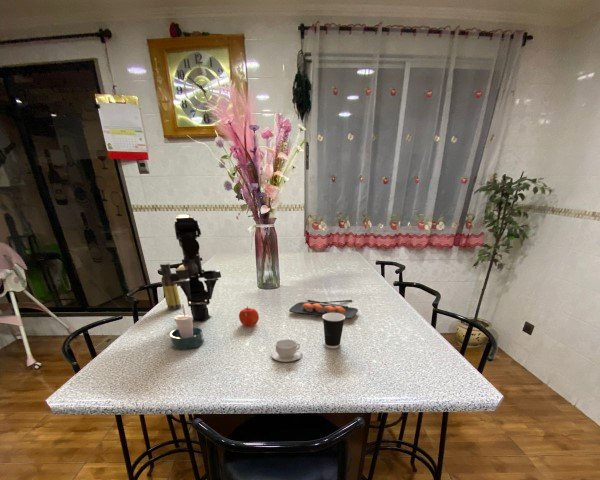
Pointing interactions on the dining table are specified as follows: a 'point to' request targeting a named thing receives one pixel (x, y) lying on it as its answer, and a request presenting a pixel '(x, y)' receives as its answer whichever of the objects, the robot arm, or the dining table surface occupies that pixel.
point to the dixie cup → (333, 329)
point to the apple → (248, 317)
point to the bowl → (187, 339)
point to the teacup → (286, 350)
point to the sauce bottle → (170, 288)
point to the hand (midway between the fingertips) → (199, 299)
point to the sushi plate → (323, 309)
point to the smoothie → (184, 324)
